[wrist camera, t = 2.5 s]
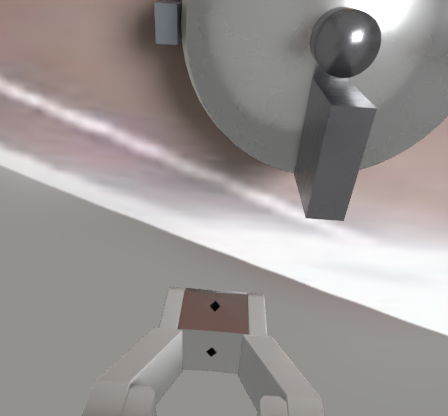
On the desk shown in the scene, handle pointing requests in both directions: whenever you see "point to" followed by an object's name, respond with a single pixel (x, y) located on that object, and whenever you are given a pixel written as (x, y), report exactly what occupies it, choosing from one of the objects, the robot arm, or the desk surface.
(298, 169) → the dial
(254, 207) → the desk surface
